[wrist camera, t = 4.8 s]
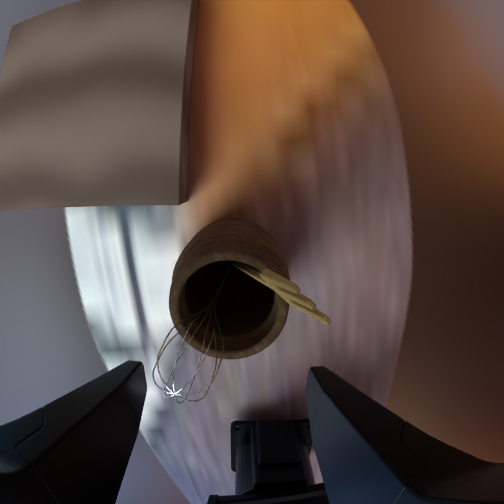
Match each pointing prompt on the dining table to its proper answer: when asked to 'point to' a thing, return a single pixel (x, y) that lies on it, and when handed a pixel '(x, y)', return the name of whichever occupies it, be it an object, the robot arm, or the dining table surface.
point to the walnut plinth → (97, 105)
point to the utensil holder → (231, 294)
